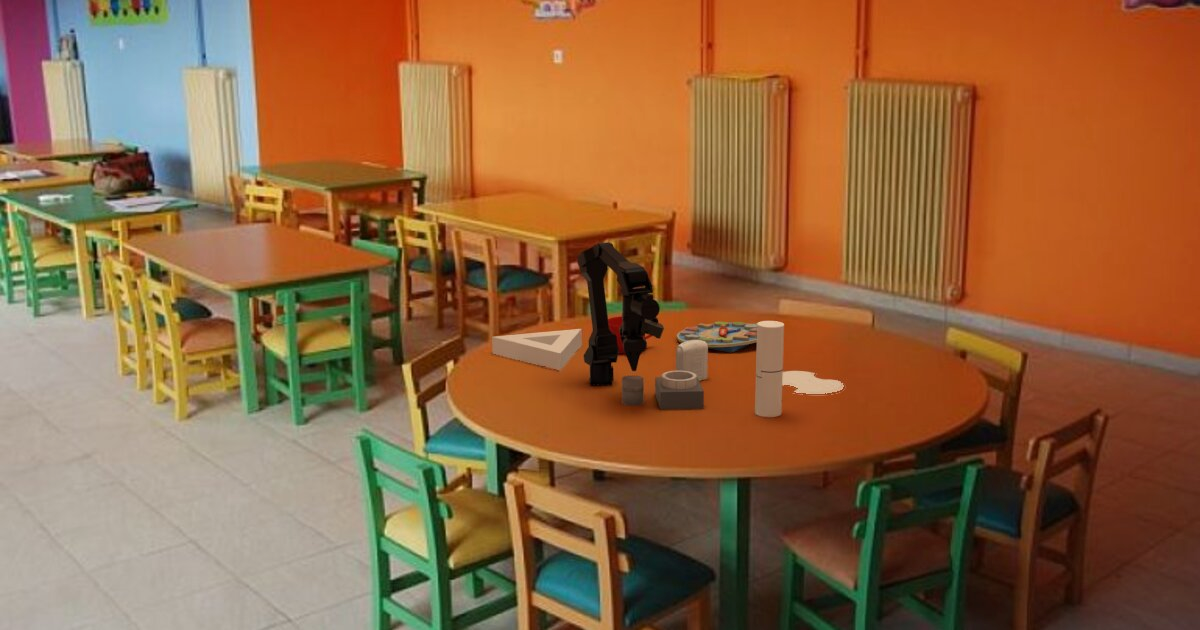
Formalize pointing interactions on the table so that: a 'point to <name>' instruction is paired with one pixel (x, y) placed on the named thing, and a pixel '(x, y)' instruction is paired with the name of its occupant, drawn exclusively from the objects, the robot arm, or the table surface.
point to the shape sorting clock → (721, 335)
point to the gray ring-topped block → (679, 391)
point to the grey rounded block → (632, 390)
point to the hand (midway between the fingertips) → (632, 366)
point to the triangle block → (540, 347)
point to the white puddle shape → (810, 383)
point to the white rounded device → (693, 358)
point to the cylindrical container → (769, 368)
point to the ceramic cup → (614, 328)
